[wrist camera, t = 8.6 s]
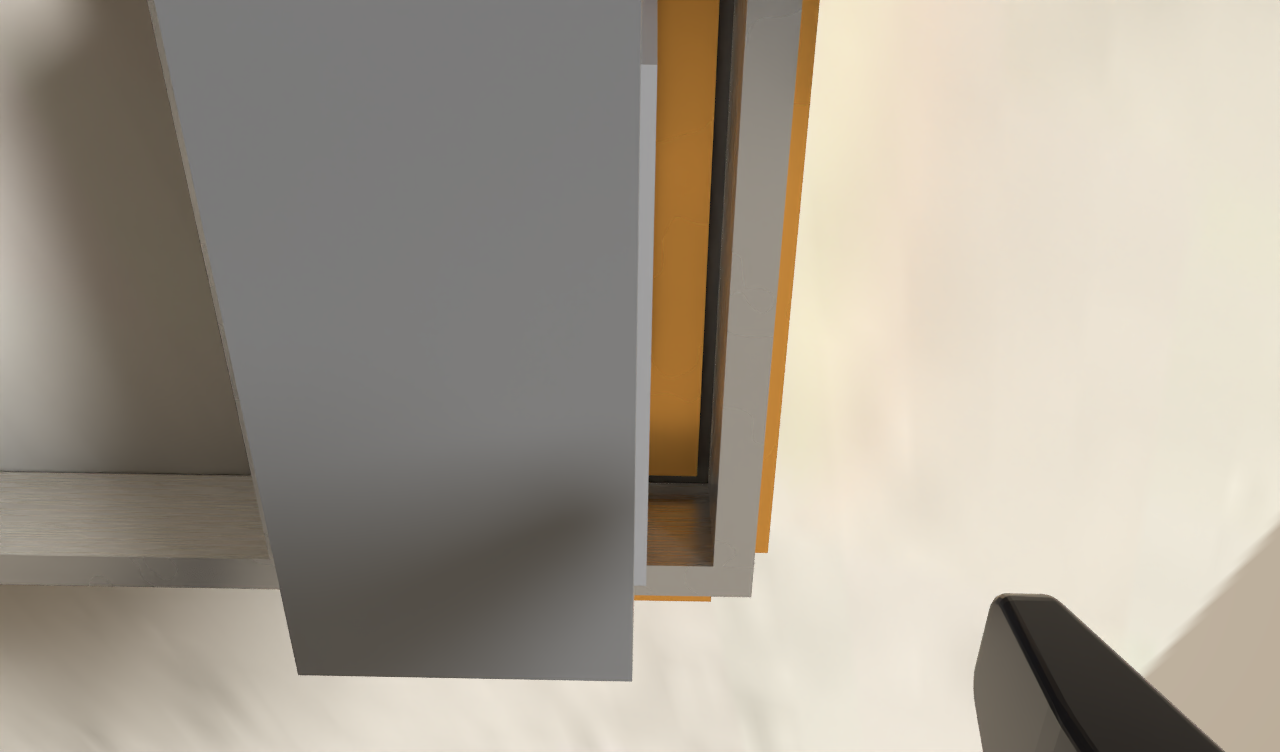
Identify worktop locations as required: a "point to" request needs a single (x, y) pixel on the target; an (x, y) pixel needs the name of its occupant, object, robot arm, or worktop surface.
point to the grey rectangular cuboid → (436, 316)
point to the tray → (744, 356)
